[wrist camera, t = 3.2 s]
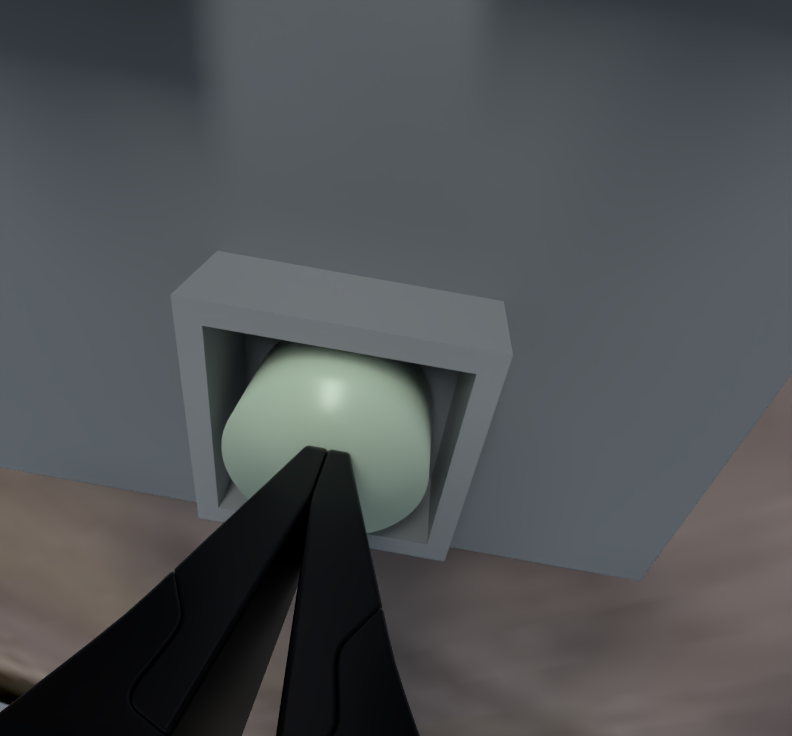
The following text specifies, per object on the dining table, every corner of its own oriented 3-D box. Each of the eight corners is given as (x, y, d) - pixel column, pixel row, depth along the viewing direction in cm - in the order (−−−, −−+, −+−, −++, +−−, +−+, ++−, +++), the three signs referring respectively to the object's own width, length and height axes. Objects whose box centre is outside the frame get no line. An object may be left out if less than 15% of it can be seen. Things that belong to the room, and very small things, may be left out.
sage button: (450, 344, 10) (448, 405, 8) (417, 479, 12) (410, 549, 11) (254, 309, 10) (214, 364, 8) (257, 451, 12) (226, 517, 11)
